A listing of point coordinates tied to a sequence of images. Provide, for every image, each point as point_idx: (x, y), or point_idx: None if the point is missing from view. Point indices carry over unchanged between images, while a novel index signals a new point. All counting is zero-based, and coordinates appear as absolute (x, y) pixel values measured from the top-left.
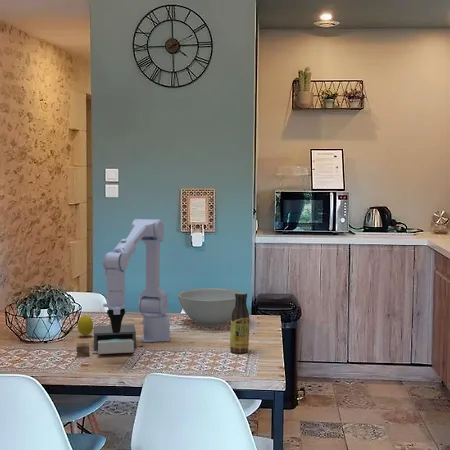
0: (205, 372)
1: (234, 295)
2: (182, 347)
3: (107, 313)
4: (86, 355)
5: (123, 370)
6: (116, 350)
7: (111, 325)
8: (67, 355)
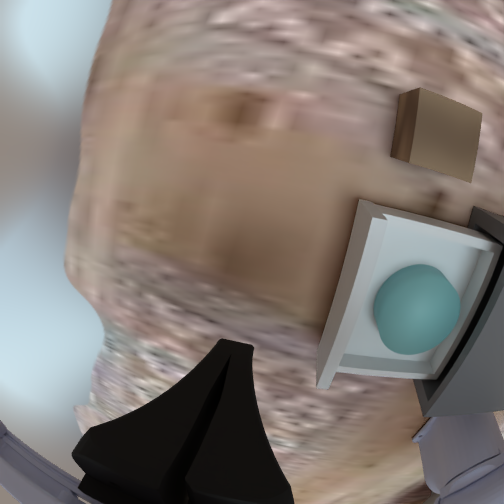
0: (112, 407)
1: None
2: (337, 450)
3: (90, 442)
4: (395, 142)
5: (129, 257)
6: (337, 294)
7: (192, 372)
8: (443, 66)
